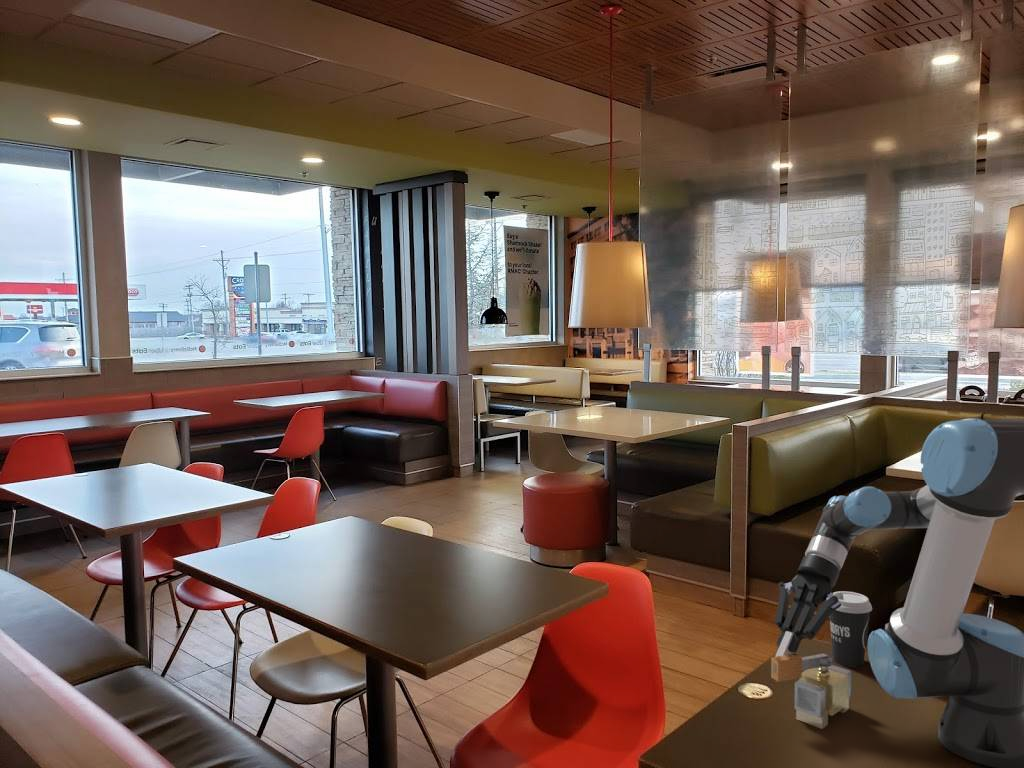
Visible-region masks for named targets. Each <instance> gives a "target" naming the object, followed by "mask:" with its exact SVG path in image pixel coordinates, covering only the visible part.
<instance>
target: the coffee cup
mask: <svg viewBox="0 0 1024 768" xmlns="http://www.w3.org/2000/svg"><path fill="white" fill-rule="evenodd" d="M833 595H834V596H836V597H837V598H838V600H839V601H840V603H841V606H840V607H839V608H838V609H836V610H835V611H833V612H832V614H831V615H830V616H829V624H830V638H831V639H830V640H831V649H832V650H831V651H832V661H834V662H835V663H836V664H838V665H840V664H841V665H840V666H843V665H845V666H844V667H848V666H850V667H849V668H857V667H858V666H859V667H862V666H863V665H864V663H865V662H864V661H865V654H866V648H867V646H866V645H867V640H868V639H867V638H868V637H867V636H868V630H869V621H870V612H872V610H873V607H872V604H871V602H870V599H869V597H867V596H866V595H864V594H861V593H858V592H854V591H843V590H841V591H839V590H838V591H835V592H834V591H833ZM859 667H858V668H859Z"/></svg>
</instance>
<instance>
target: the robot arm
mask: <svg viewBox="0 0 1024 768" xmlns="http://www.w3.org/2000/svg"><path fill="white" fill-rule="evenodd" d="M920 464H921V465H923V466H922V468H921V470H920V472H921V475H922V478H923V480H924V483H926V485H924V486H921V487H920V488H917V489H915V490H908V491H883V490H881V489H879V488H877V487H874V486H864V487H861V488H859V489H856V490H854V491H852V492H851V493H849V494H848V495H847V496H846V495H838V496H837V495H834V496H832V497H831V498H829V500H828V502H827V504H826V506H824V508H823V509H822V514H821V517H820V518H819V521H818V522H817V526H816V529H815V530H814V533H813V535H812V537H811V539H810V541H809V544H808V546H807V548H806V550H805V552H804V556H803V558H802V559H801V562H800V564H799V566H798V569H797V573H796V575H795V576H794V577H793V578H792V580H791V581H789V582H787V583H786V582H785V583H784V582H783V581H780V582H778V583H777V584H778V585H777V586H778V589H779V596H778V602H777V607H776V615H775V620H774V623H775V625H776V627H777V628H778V629H779V631H780V634H779V637H778V639H777V641H776V646H777V647H778V649H777V651H776V653H775V655H774V657H777V656H783V655H789V654H797V651H798V650H799V646H800V644H801V641H803V640H805V639H808V640H809V641H811V640H813V639H814V638H815V637H816V635H817V634H818V633H819V631H820V629H821V628H822V627H823V625H825V623H826V621H827V620H828V619H830V615H831V614H832V612H833V611H835V610H836V609H838V608H839V607H840V606H841V603H840V601H839V600H838V598H837V597H836V596H834V595H833V593H834V587H835V586H836V583H837V581H838V578H839V577H840V571H841V570H842V568H843V566H844V563H845V562H846V561H845V560H846V559H847V556H848V553H849V551H850V549H851V547H852V544H853V542H854V540H855V539H856V537H858V536H860V535H862V534H863V533H866V532H869V531H875V530H882V531H883V530H901V529H926V533H925V536H924V540H923V543H922V547H921V550H920V552H919V556H918V559H917V562H916V565H915V568H914V572H913V576H912V579H911V582H910V586H909V589H908V591H907V594H906V599H905V601H904V605H903V607H900V608H897V609H895V610H894V611H893V612H892V613H891V615H890V618H889V622H888V623H889V624H888V627H887V629H885V628H884V629H882V628H878V629H876V630H872V631H871V632H870V633H869V636H868V637H867V638H868V639H867V655H868V660H869V663H870V667H871V670H872V673H873V675H874V676H875V677H874V678H875V679H876V680H877V683H878V684H879V685H880V686H881V687H882V689H883V690H884V691H885V692H886V693H887V694H888V695H889V696H891V697H893V698H897V699H911V700H914V699H915V700H916V699H925V698H926V699H927V698H939V697H949V699H948V701H947V704H945V708H944V710H943V712H942V715H941V718H940V719H939V722H938V728H937V729H938V730H937V733H938V734H937V737H938V740H939V742H940V743H941V745H943V747H944V748H945V749H947V750H948V751H950V752H951V753H953V754H954V755H957V756H959V757H960V758H963V759H965V760H968V761H970V762H972V763H976V764H979V765H983V766H987V767H992V768H1024V632H1023V631H1021V630H1020V629H1018V628H1017V627H1015V626H1013V625H1012V624H1009V623H1007V622H1004V621H1001V620H998V619H995V618H993V617H992V618H991V617H989V616H983V615H979V614H973V613H964V611H965V607H966V605H967V602H968V599H969V595H970V593H971V591H972V587H973V585H974V582H975V578H976V577H977V573H978V569H979V567H980V564H981V561H982V559H983V555H984V553H985V550H986V546H987V544H988V541H989V538H990V535H991V533H992V529H993V527H994V523H995V520H999V519H1002V518H1005V517H1007V516H1008V515H1009V514H1010V513H1011V510H1012V507H1013V504H1014V502H1015V499H1016V497H1019V496H1022V495H1024V418H993V419H988V418H987V419H981V418H975V417H974V418H965V419H963V418H962V419H960V420H951V421H950V420H948V421H947V422H946V421H945V422H944V423H941V424H939V425H938V426H936V427H935V428H934V429H933V430H932V431H931V432H930V433H929V434H928V436H927V437H926V440H925V441H924V443H923V445H922V448H921V453H920ZM792 590H793V593H794V595H793V601H792V604H791V605H790V596H791V594H792ZM820 604H822V605H821V606H820V607H819V605H820ZM789 605H790V607H789ZM818 608H819V609H818ZM815 612H816V613H815Z"/></svg>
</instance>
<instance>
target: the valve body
mask: <svg viewBox="0 0 1024 768" xmlns="http://www.w3.org/2000/svg"><path fill="white" fill-rule="evenodd" d="M851 690H852V670H849V669H845V668H843V667H840V666H836V665H833V664H832V666H829V667H828V672H821V671H819V667H818V668H813V669H807V670H803V671H802V678H798V680H797V681H795V682H794V704H793V705H794V710H796V712H795V713H796V716H795V719H796V720H797V721H800V722H801V723H802V722H803V723H806V724H808V725H811V726H813V727H816V728H819V729H821V730H823V729H824V728H827V726H828V725H829V716H832V717H833V716H835V715H836V714H837V713H838V712H839V713H842V714H845V713H846V712H847V711H849V707H850V703H849V702H850V697H851V696H852V695H851V693H852V691H851Z"/></svg>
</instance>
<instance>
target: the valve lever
mask: <svg viewBox="0 0 1024 768" xmlns="http://www.w3.org/2000/svg"><path fill="white" fill-rule="evenodd" d="M770 658H771V659H770V662H771V665H770V666H771V667H770V668H771V669H770V670H771V671H770V673H771V674H770V676H771V679H773V681H776V682H777V683H779V682H784V681H786V682H787V681H791V680H796V679H799V678H802V672H803V671H805V670H807V669H813V668H818V667H819V671H821V672H828V667H829V666H832V665H833V656H831V655H829V654H826V653H817V654H813V655H807V656H800V655H799V654H797V653H791V654H789V655H783V656H777V657H775V656H773V657H770Z"/></svg>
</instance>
